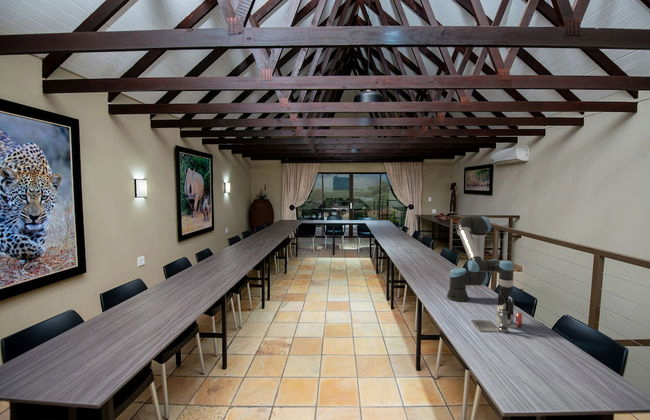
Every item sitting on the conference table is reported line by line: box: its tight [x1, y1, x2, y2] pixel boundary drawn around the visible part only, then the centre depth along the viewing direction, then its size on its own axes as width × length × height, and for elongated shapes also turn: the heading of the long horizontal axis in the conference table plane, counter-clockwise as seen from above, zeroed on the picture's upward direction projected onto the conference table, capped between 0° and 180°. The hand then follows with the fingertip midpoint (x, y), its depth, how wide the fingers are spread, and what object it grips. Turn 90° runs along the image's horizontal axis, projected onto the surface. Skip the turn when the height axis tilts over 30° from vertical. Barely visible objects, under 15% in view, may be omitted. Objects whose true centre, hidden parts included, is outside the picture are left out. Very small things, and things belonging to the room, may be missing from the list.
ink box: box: [496, 302, 515, 327], centre depth 186 cm, size 9×5×15 cm, turn 105°
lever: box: [506, 312, 523, 329], centre depth 176 cm, size 3×8×8 cm, turn 87°
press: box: [470, 309, 509, 334], centre depth 181 cm, size 14×16×13 cm
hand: (504, 321), depth 186 cm, fingers closed on ink box, 6 cm apart
